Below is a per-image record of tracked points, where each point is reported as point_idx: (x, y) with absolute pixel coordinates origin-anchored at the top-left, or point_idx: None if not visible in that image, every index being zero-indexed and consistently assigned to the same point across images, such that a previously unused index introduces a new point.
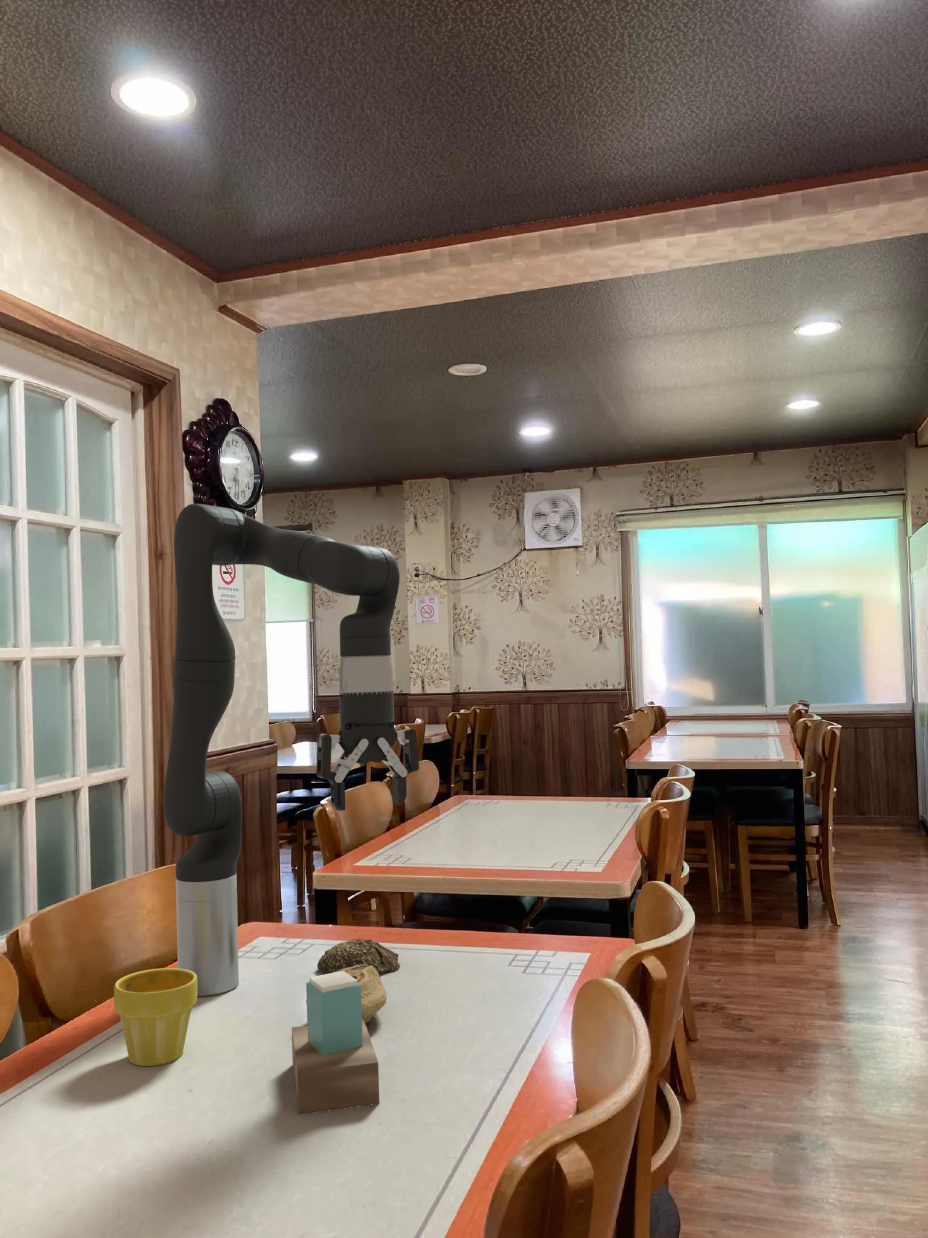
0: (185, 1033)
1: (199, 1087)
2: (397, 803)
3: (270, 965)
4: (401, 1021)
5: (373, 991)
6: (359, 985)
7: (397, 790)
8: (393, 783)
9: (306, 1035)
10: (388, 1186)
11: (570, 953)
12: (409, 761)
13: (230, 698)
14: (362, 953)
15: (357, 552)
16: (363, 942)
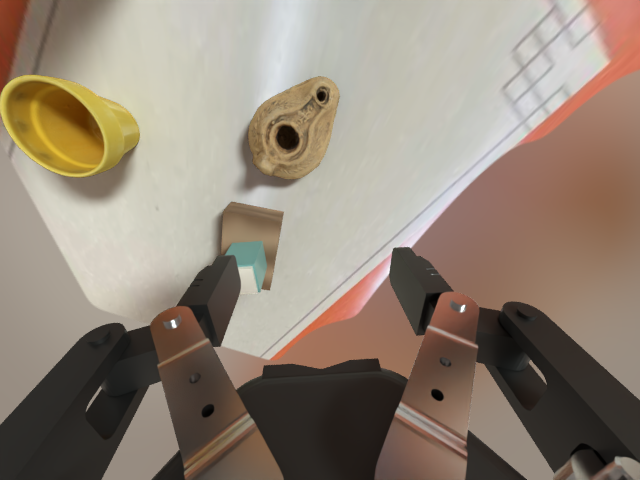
0: (131, 142)
1: (163, 206)
2: (390, 274)
3: None
4: (333, 158)
5: (309, 163)
6: (259, 291)
7: (402, 299)
8: (414, 288)
9: (232, 232)
10: (255, 335)
11: (595, 49)
12: (504, 379)
13: None
14: None
15: None
16: None
